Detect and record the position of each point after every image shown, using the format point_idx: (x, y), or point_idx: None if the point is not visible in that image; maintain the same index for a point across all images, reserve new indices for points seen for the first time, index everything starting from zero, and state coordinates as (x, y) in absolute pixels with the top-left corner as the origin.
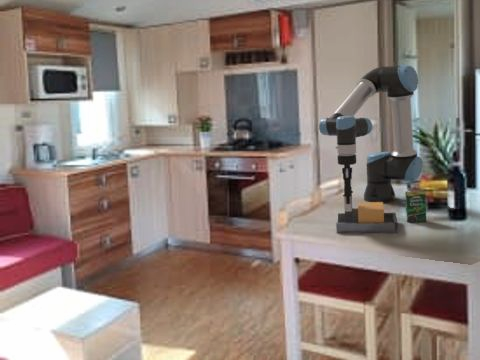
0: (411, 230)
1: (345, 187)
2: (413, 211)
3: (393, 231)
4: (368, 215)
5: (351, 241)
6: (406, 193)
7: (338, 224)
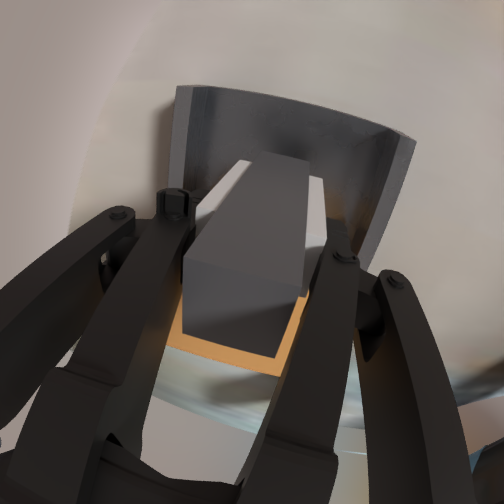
0: None
1: (44, 267)
2: None
3: None
4: None
5: (92, 142)
6: None
7: (177, 97)
